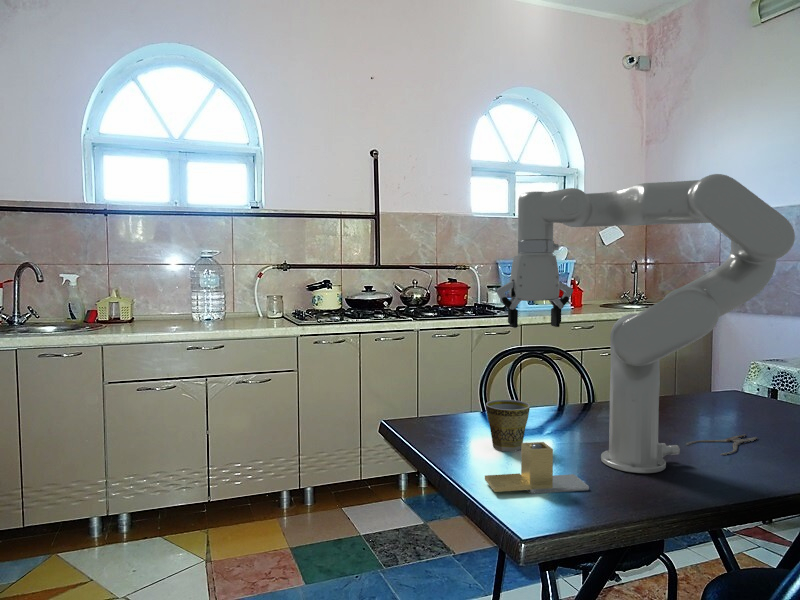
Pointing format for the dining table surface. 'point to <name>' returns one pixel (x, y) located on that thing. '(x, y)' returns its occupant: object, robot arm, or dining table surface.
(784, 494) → the dining table surface
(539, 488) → the steel leaf with pin
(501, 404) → the ceramic cup
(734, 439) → the pliers
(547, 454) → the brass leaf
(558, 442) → the dining table surface
